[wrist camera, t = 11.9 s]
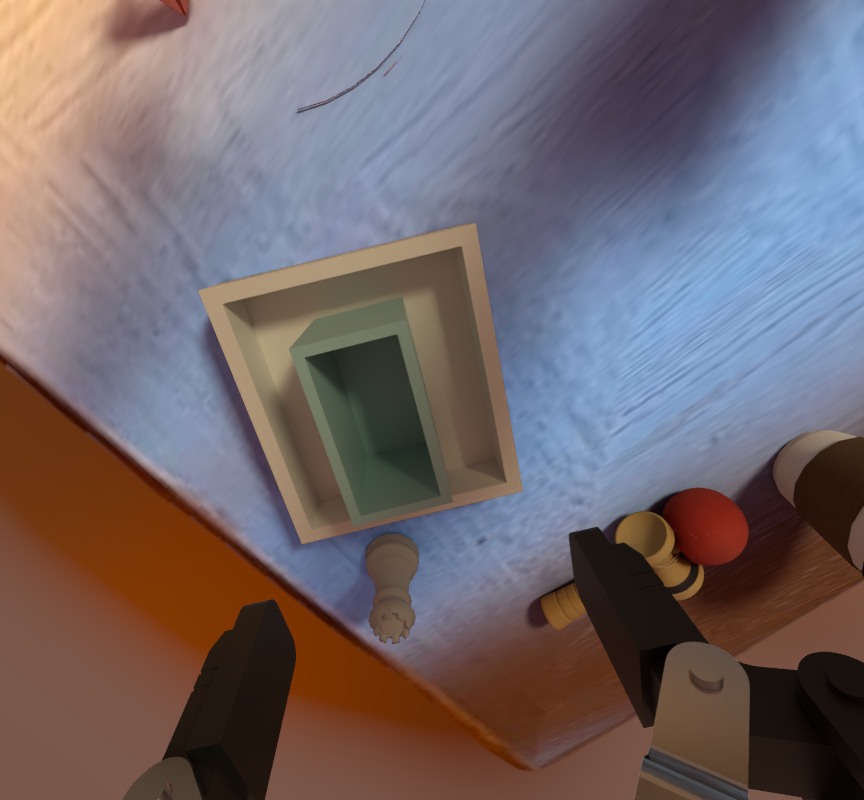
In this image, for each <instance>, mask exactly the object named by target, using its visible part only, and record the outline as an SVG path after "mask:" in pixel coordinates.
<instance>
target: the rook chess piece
mask: <svg viewBox="0 0 864 800" xmlns="http://www.w3.org/2000/svg"><path fill="white" fill-rule="evenodd" d="M418 557H419V552H418V548H417V546H416V545H415V543H414V542H413V541H412V540H411V539H410V538H408V537H406V536H404V535H401V534H395V533H390V534H385V535H382V536H380V537H378V538H377V539H375V540H373V541H372V542H371V544H370V545H369V546H368V548H367V551H366V556H365V558H366V567H367V571H368V574H369V576H370V577H371V578H372V580H373V581H374V583H375V588H376V595H375V597H374V599H373V606H374V608H373V610H372V611H371V612H370V615H369V623H370V626H371V627H372V628H373V629H374V634H375V636H377V635H379V641H381V642H384V643H386V641H387V638H392V644H394V643H399V637H400V636H402V637H403V638H405V639H406V638H407V637H408V635H409V629H411V627H412V626H413V625H414V622H415V618H416V617H415V613H414V610H413V609H412V608H411V607H410V605H411V597H410V595H409V594H408V590H409V582H410V581H411V579H412V578H413V576H414V575H415V573H416V571H417V567H418V563H419V561H418Z"/></svg>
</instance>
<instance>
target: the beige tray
mask: <svg viewBox="0 0 864 800" xmlns="http://www.w3.org/2000/svg"><path fill="white" fill-rule="evenodd" d="M198 291H199V294H200V296H201V299H202V301H203V304H204V306H205V308H206V311H207V313H208V316H209V318H210V321H211V323H212V326H213V328H214V330H215V333H216V335H217V338H218V340H219V343H220V345H221V348H222V350H223V352H224V355H225V357H226V360H227V362H228V365H229V367H230V370H231V372H232V375H233V377H234V379H235V382H236V384H237V387H238V389H239V392H240V394H241V397H242V399H243V401H244V404H245V406H246V409H247V411H248V414H249V416H250V419H251V421H252V423H253V426H254V428H255V431H256V433H257V436H258V438H259V441H260V443H261V445H262V448H263V450H264V453H265V455H266V458H267V460H268V463H269V465H270V467H271V470H272V472H273V475H274V477H275V480H276V482H277V485H278V487H279V489H280V492H281V494H282V497H283V499H284V502H285V504H286V507H287V509H288V511H289V514H290V516H291V519H292V521H293V524H294V526H295V529H296V531H297V534H298V536H299V538H300V541H301V543H302V544H305V543H310V542H314V541H318V540H322V539H326V538H330V537H335V536H339V535H343V534H347V533H351V532H355V531H360V530H364V529H368V528H372V527H376V526H380V525H385V524H389V523H393V522H397V521H401V520H405V519H410V518H414V517H418V516H422V515H426V514H430V513H435V512H439V511H443V510H447V509H451V508H455V507H459V506H464V505H468V504H472V503H476V502H480V501H484V500H489V499H493V498H497V497H501V496H505V495H509V494H514V493H518V492H522V491H523V489H522V484H521V478H520V472H519V467H518V461H517V455H516V450H515V444H514V438H513V433H512V427H511V421H510V416H509V410H508V404H507V399H506V393H505V387H504V382H503V376H502V370H501V365H500V359H499V353H498V348H497V342H496V336H495V331H494V325H493V319H492V314H491V308H490V302H489V297H488V291H487V285H486V280H485V274H484V268H483V263H482V257H481V251H480V246H479V240H478V234H477V229H476V223H473V224H462V225H458V226H454V227H450V228H446V229H441V230H437V231H433V232H429V233H425V234H421V235H417V236H413V237H408V238H404V239H400V240H396V241H392V242H388V243H384V244H379V245H375V246H371V247H367V248H363V249H359V250H355V251H351V252H346V253H342V254H338V255H334V256H330V257H326V258H322V259H318V260H313V261H309V262H305V263H301V264H297V265H293V266H289V267H285V268H280V269H276V270H272V271H268V272H264V273H260V274H256V275H252V276H247V277H243V278H239V279H235V280H231V281H227V282H223V283H220V284H217V285H214V286H211V287H208V288H205V289H201V290H198ZM400 297H403V301H404V305H405V308H406V312H407V316H408V320H409V324H410V328H411V332H412V336H413V340H414V344H415V347H416V351H417V355H418V359H419V363H420V367H421V371H422V375H423V379H424V382H425V386H426V390H427V394H428V398H429V402H430V406H431V410H432V414H433V418H434V421H435V425H436V429H437V433H438V437H439V441H440V445H441V450H442V454H443V459H444V463H445V468H446V472H447V477H448V481H449V486H450V490H451V495H452V499H453V502H452V503H448V504H444V505H440V506H436V507H432V508H428V509H424V510H420V511H416V512H412V513H408V514H404V515H400V516H396V517H392V518H388V519H384V520H380V521H376V522H372V523H368V524H364V525H360V526H356V527H353V524H352V522H351V519H350V516H349V513H348V511H347V508H346V505H345V502H344V500H343V497H342V494H341V491H340V489H339V486H338V483H337V480H336V478H335V475H334V472H333V469H332V467H331V464H330V461H329V458H328V456H327V453H326V450H325V447H324V445H323V442H322V439H321V436H320V434H319V431H318V428H317V425H316V423H315V420H314V417H313V414H312V412H311V409H310V406H309V403H308V401H307V398H306V395H305V392H304V390H303V387H302V384H301V381H300V379H299V376H298V373H297V370H296V368H295V365H294V362H293V360H292V357H291V354H290V351H289V348H290V347H291V346H292V345H293V344H294V342H295V341H296V340H297V339H298V338H299V337H300V335H301V334H302V333H303V332H304V331H305V330H306V328H307V327H308V326H309V325H310V324H311V323H312V322H313V320H314V319H317V318H321V317H325V316H329V315H333V314H337V313H341V312H345V311H349V310H353V309H357V308H361V307H365V306H369V305H373V304H376V303H380V302H384V301H388V300H392V299H396V298H400Z"/></svg>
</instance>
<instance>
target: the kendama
mask: <svg viewBox="0 0 864 800" xmlns="http://www.w3.org/2000/svg"><path fill="white" fill-rule="evenodd" d="M748 533H749V531H748V524H747V521H746V519H745V516H744V514H743V513H742V511H741V510H740V508H739V507H738V506H737V505H736V504H735V503H734V502H733V501H732V500H730V499H729V498H728V497H727V496H725V495H723V494H721V493H719V492H717V491H714V490H711V489H706V488H691V489H687V490H684V491H681V492H679V493H678V494H676V495H675V496H673V497H672V498H671V499H670V500H669V501H668V503H667V504H666V506H665V508H664V510H663V513H662V517H661V516H659V515H657V514H655V513H653V512H648V511H640V512H635V513H633V514H630V515H629V516H627V517H626V518H624V519H623V520H622V521H621V522H620V524H619V525H618V527H617V529H616V531H615V538H614V540H615V544H618V543H623V542H624V543H626V544H627V545H629V546H630V547H632V548H633V549H635V550H637V551H638V552H640V553H641V554H642V555H643V556H644V557H645V559H646V560H647V561H648V563H649V564H650V566H651V567H652V568H653V570H654V572H655V573H656V574H657V575H658V576H659V578H660V579H661V580H662V582H663V583H664V586H665V587H667V588H668V590H669V591H670V592H671V594H672V595H673V596H674V598H675V599H676V600H677V601H678V600H684V599H687V598H690V597H692V596H693V595H694V594H695V593H696V592H697V591H698V590H699V589H700V587H701V586H702V583H703V580H704V569H703V566H702V565H721V564H724V563H727V562H729V561H731V560H733V559H735V558H736V557H737V556H738V555H739V554H740V553H741V552H742V551H743V549H744V547H745V546H746V543H747V540H748ZM540 604H541V608H542V611H543V613H544V615H545V617H546V619H547V620H548V622H549V623H550V625H551V626H552V627H553V628H554V629H556V630H561V629H562V628H564V627H565V626H567V625H568V624H570V623H571V622H572V621H573V620H576V619H577V618H579V617H580V616H581V615H583V614H585V613H587V612H586V610H585V608H584V606H583V603H582V601H581V599H580V597H579V594H578V591H577V588H576V584H575V583H572V584H570V585H568V586H566V587H563V588H561V589H559V590H557V591H555V592H552V593H550V594H547V595H545V596H543V597H541V599H540Z"/></svg>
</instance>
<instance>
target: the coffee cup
mask: <svg viewBox="0 0 864 800" xmlns="http://www.w3.org/2000/svg"><path fill="white" fill-rule="evenodd" d="M772 476H773V478H774V480H775V483H776V485H777V488H778V490H779V492H780V493H781V494H782V495H783V496H784V497H785V498H786V499H787V500H788V501H789V502H790V503H791V504H792V505H793V506H794V507H795V508H796V510H797V512H798V514H799V515H800V516H801V517H802V518H803V519H804V520H805V521H806V522H807V523H808V524H809V525H810V526H811V527H812V528H813V529H814V530H816V531H817V532H818V533H819V534H820V535H821V536H822V537H823V538H824V539H825V540H826V541H827V542H828V543H829V544H830V545H831V546H832V547H833V548H834V549H835V550H836V551H837V552H838V553H839V554H840V555H841V556H842V557H843V558H844V559H845V560H846V561H848V562H849V563H850V564H851V565H852V566H853V567H855V568H856V569H857V570H859V571H860V572H862V574H863V577H864V438H863V437H856V436H852V435H848V434H845V433H841V432H836V431H830V430H817V431H812V432H807V433H803V434H801V435H800V436H798V437H796V438H794V439H792V440H791V441H790V442H789V443H788V444H787V445H786V446H785V447H784V448H783V449H782V450H781V451H780V452H779V454H778V456H777V458H776V460H775V462H774V465H773V474H772Z"/></svg>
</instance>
